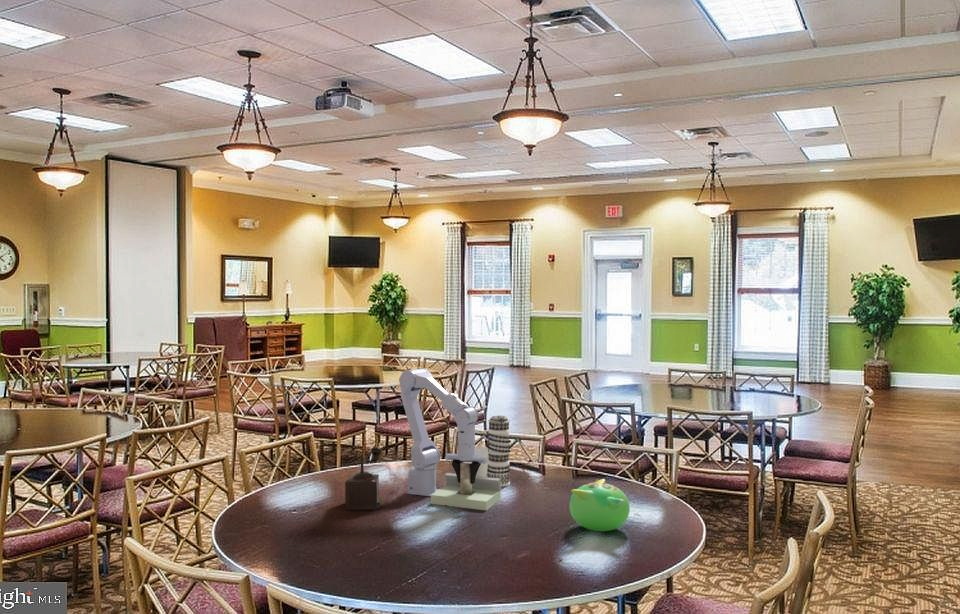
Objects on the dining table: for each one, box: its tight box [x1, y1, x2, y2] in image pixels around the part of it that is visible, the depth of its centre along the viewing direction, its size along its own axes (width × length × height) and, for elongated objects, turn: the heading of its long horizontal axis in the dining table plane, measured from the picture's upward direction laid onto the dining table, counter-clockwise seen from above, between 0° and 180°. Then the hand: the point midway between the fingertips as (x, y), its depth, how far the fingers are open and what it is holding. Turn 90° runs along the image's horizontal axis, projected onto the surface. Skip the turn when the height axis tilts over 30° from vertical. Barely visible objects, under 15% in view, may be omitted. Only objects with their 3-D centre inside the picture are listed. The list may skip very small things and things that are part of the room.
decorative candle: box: [486, 415, 512, 488], centre depth 271 cm, size 9×9×25 cm
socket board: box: [430, 472, 502, 511], centre depth 249 cm, size 20×14×7 cm
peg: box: [460, 461, 472, 494], centre depth 249 cm, size 4×4×10 cm
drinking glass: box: [470, 445, 489, 477], centre depth 263 cm, size 7×7×15 cm
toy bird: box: [569, 478, 630, 532], centre depth 221 cm, size 18×17×15 cm
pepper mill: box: [344, 446, 383, 512], centre depth 246 cm, size 16×11×18 cm
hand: (466, 482), depth 249 cm, fingers closed on peg, 4 cm apart
